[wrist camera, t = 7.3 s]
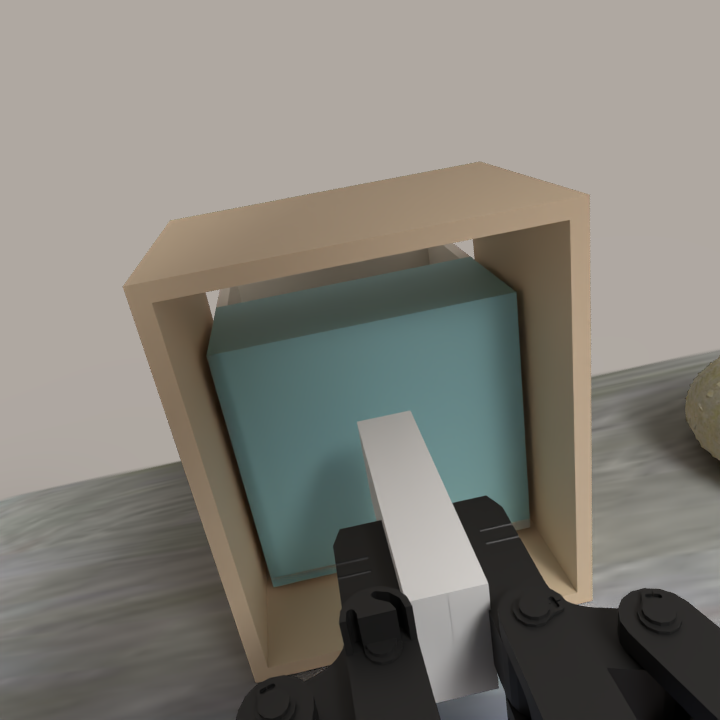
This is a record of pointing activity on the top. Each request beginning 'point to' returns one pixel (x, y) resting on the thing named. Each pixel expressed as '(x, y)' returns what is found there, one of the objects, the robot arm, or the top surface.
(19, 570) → the top surface
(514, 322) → the drawer box
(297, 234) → the sleeve
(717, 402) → the sea urchin shell
